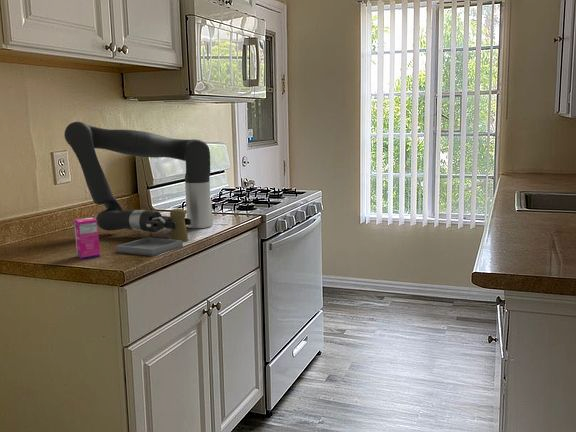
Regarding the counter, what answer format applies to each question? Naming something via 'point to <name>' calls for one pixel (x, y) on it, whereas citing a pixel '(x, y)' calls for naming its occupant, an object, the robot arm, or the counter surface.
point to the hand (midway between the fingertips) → (183, 223)
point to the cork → (179, 225)
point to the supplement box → (87, 238)
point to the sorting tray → (149, 246)
